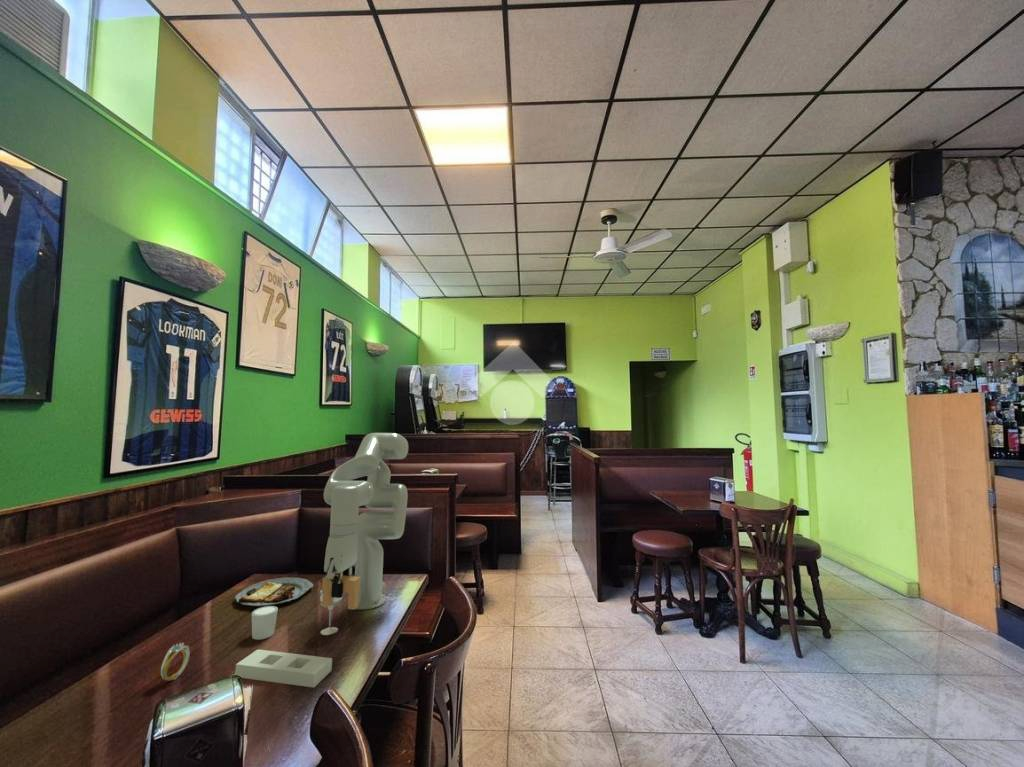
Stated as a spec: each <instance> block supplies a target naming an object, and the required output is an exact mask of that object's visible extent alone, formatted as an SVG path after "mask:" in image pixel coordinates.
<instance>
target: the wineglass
mask: <svg viewBox="0 0 1024 767" xmlns="http://www.w3.org/2000/svg"><path fill="white" fill-rule="evenodd" d="M319 592H320V596H319V597H318V598H319V603H320V605H321V606H322V599H323V591H322V589H320V591H319ZM343 597H344V595H343V596H342V597H341V598H335V597H333V604H332V605H330V606H329V607H324V606H322V607H323V608H325V609H327V610H328V627H325V628H323V629H322V630H321V631H320V634H321V635H323V636H329V635H333V634H335V633H337V632H338V631H339V628H338V627H336V626H331V625H332V623H331V622H332V614H333V613H332V612H333V609H334V608H335V607H337V606H339V605H340V603H341V602H342V600H343Z"/></svg>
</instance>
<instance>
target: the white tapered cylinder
mask: <svg viewBox="0 0 1024 767" xmlns="http://www.w3.org/2000/svg"><path fill="white" fill-rule="evenodd" d="M278 610H279V608H278V607H277V606H275V605H268V606H260V607H258V608H256V609H254V610H252V612H251V639H253V640H265V639H267V638H270V637H272V636H273V635H274V633H275V627H276V622H277V615H278Z"/></svg>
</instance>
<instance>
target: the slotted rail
mask: <svg viewBox="0 0 1024 767" xmlns="http://www.w3.org/2000/svg"><path fill="white" fill-rule="evenodd" d="M332 669H333V658H332V657H323V656H316V655H307V654H300V653H299V654H298V653H291V652H283V651H274V650H266V649H256V650H254V651H253V652H252V653H251V654H249V655H247V656H246V657H244V658H243V659H242V660H240V661H239V662H237V663H236V664H235V674H234V676H235V675H238V676H240V677H241V678H240V679H248V680H256V681H261V682H262V681H263V682H270V683H276V684H283V685H284V684H286V685H292V686H300V687H307V688H316V686H317V685H318V684H319V683H321V682H322V681H323V680H324V679H325V677H326V676H328V674H329V673H331V672H332Z"/></svg>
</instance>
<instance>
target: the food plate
mask: <svg viewBox="0 0 1024 767" xmlns="http://www.w3.org/2000/svg"><path fill="white" fill-rule="evenodd" d="M313 587H314V584H313V582H311V581H310V580H309V579H306V578H301V577H297V576H296V577H295V576H294V577H280V578H270V579H267V580H266V579H265V580H262V581H260V582H257V583H254V584H250V585H249V586H247V587H245V588H244V589H242V590H241V591H239V592H238V593H237V594H236V595H235V596H234V601H235V602H236V604H239V605H241V606H247V607H249V606H250V607H256V608H257V607H258V608H261V607H266V606H275V605H280V604H284V603H285V604H287V603H289V602H291V601H292V600H293V601H295V600H297V599H298V598H300V597H301V598H302V596H303V595H304V594H306V593H307V592H308V591H309V590H310V589H311V588H313Z"/></svg>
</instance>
